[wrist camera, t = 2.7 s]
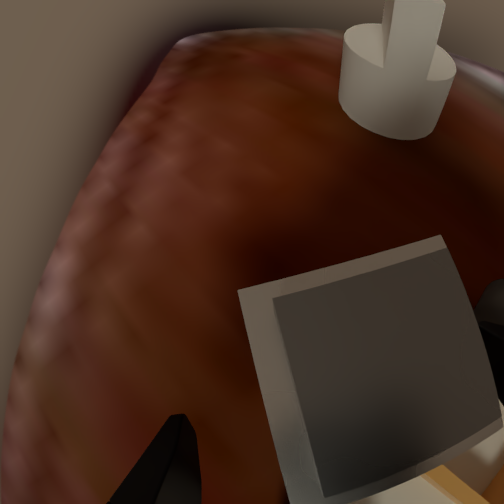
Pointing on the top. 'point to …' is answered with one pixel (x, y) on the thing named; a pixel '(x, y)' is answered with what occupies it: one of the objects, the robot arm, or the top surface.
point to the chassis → (468, 463)
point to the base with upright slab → (397, 70)
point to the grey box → (370, 371)
